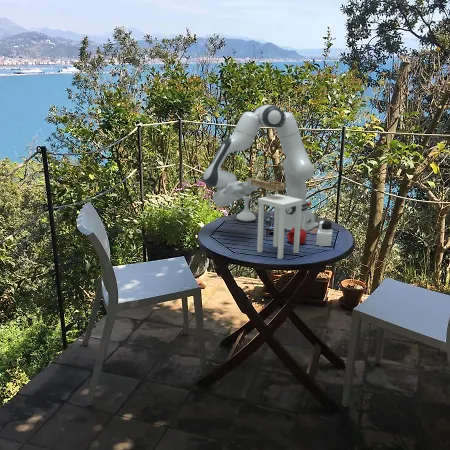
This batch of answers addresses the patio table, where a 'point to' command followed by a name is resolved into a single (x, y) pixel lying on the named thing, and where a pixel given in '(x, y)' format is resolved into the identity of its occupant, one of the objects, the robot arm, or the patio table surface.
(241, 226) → the patio table surface
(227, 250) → the patio table surface
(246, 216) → the flower in vase
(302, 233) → the pomegranate
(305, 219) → the robot arm
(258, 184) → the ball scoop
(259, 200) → the tall stand
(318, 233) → the medicine bottle
